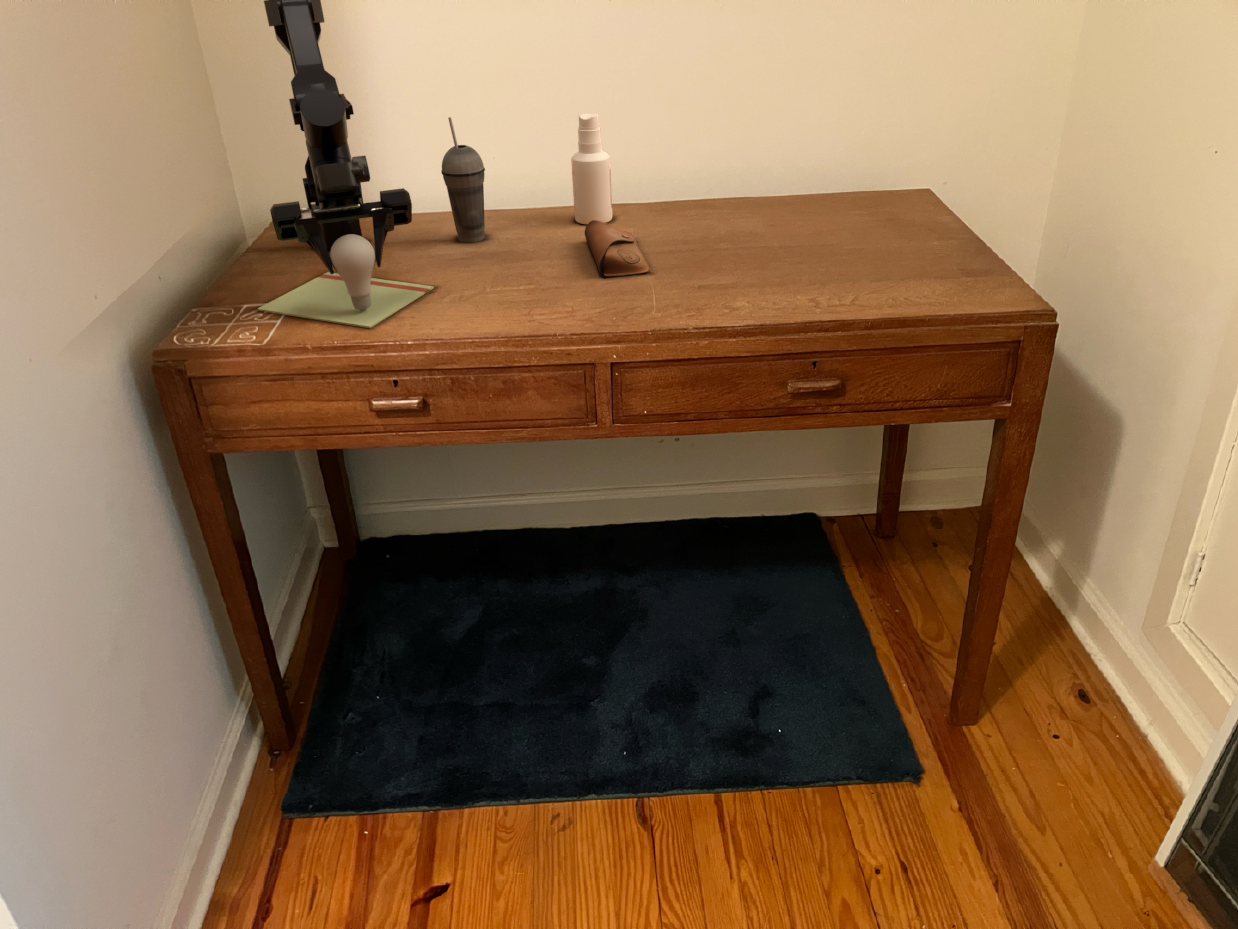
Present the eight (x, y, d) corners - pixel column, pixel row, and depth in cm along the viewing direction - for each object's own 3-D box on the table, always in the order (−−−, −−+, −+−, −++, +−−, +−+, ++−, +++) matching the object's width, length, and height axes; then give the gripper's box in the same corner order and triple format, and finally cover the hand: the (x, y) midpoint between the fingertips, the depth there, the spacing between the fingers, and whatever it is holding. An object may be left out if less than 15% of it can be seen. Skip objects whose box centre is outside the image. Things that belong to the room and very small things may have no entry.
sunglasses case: (654, 269, 140) (631, 235, 137) (616, 295, 142) (592, 261, 138) (633, 234, 155) (612, 202, 152) (599, 257, 157) (577, 226, 153)
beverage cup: (484, 245, 155) (470, 122, 144) (444, 244, 156) (427, 121, 145) (498, 232, 161) (485, 112, 150) (458, 230, 162) (443, 112, 151)
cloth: (257, 310, 133) (257, 308, 133) (328, 273, 146) (327, 271, 145) (369, 328, 126) (369, 326, 126) (433, 288, 139) (433, 286, 138)
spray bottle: (617, 215, 167) (614, 111, 157) (605, 226, 161) (600, 119, 152) (582, 212, 169) (577, 110, 159) (569, 223, 163) (562, 118, 154)
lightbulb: (355, 300, 134) (340, 226, 128) (392, 303, 132) (379, 229, 126) (333, 316, 129) (317, 241, 123) (371, 320, 127) (357, 244, 122)
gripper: (254, 143, 119) (277, 252, 116) (398, 128, 124) (423, 232, 121) (267, 188, 129) (288, 289, 126) (399, 173, 134) (422, 269, 131)
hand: (355, 269), depth 126 cm, fingers closed on lightbulb, 6 cm apart
